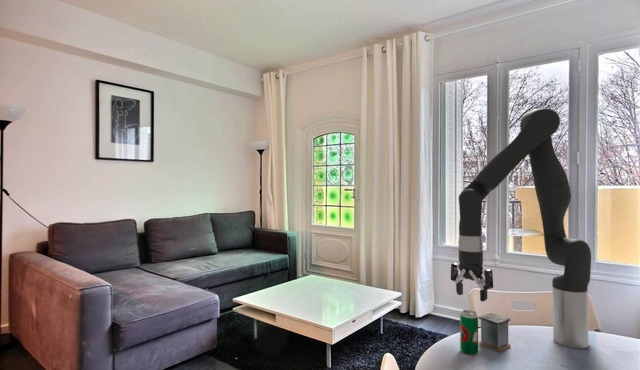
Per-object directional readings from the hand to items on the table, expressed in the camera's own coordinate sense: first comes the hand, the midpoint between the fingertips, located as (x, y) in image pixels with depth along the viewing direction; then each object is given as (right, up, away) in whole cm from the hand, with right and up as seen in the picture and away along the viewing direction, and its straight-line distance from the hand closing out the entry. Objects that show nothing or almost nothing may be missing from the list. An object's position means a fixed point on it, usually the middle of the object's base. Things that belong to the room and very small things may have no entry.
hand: (471, 297), depth 119 cm
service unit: (+4, -13, -7) cm, 15 cm away
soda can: (-5, -13, -11) cm, 18 cm away
